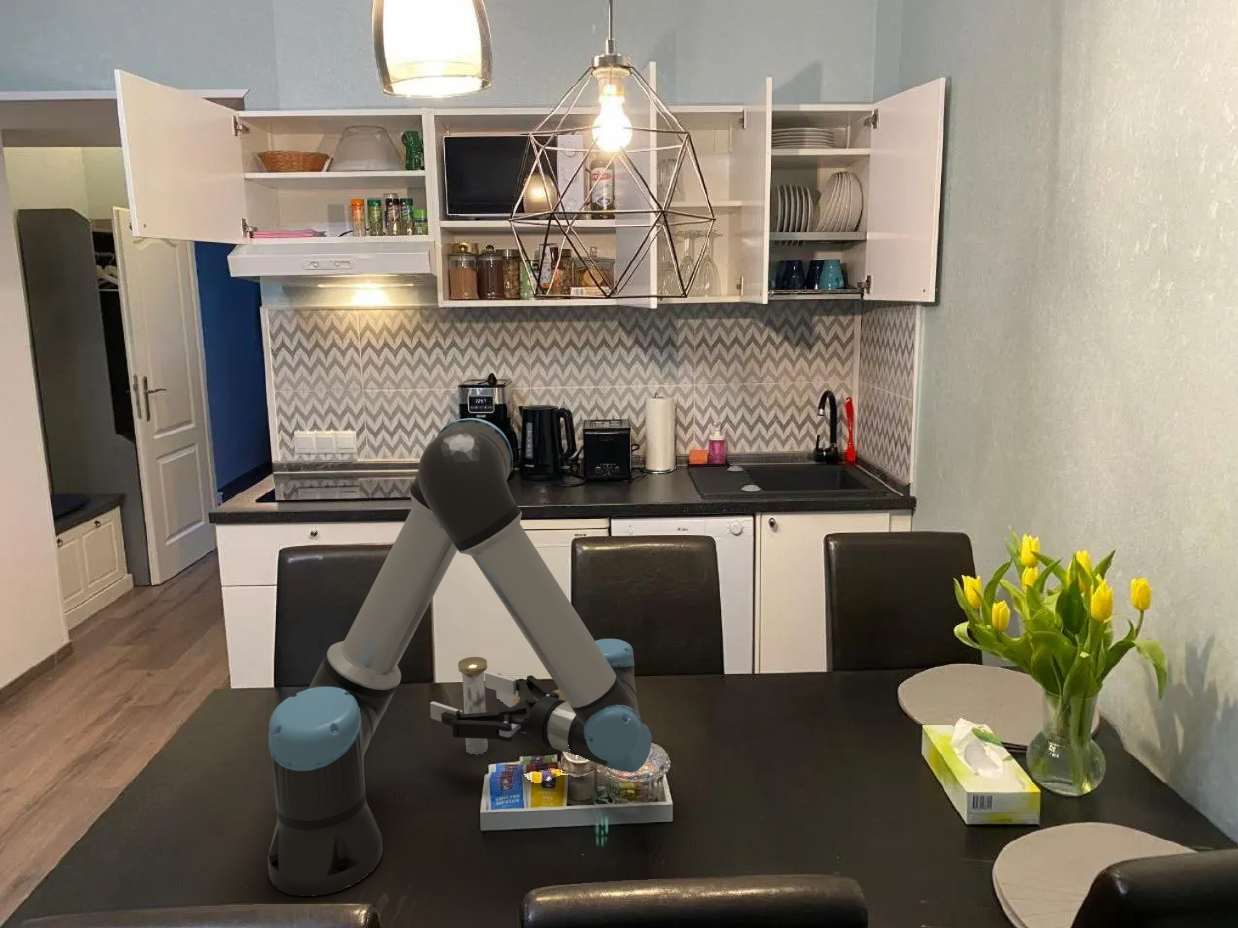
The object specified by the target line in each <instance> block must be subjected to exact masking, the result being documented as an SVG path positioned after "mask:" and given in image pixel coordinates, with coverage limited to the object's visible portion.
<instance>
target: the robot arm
mask: <svg viewBox="0 0 1238 928" xmlns="http://www.w3.org/2000/svg"><path fill="white" fill-rule="evenodd" d="M419 459H420V460H419V463H418V468H417V469H418V470H417V474H416V476H415V477H414V480H413V482H412V484H411V486H410V488H409V490H408V494H409V496H410V499H411V501H412V507H411V509H410V511H409V513H408V516H407V517H406V520H405V521H404V523H403V525H402V527H401V529H400V531H399V533H398V535H397V537H396V538H395V541H394V543H393V545H392V546H391V549H390V551H389V553H388V555H387V557H386V558H385V561H384V562H383V565H382V567H381V568H380V570H379V572H378V574H377V576H376V578H375V581H374V582H373V584H372V586H371V588H370V590H369V593H368V594H367V596H366V597H365V600H364V602H363V604H362V605H361V607H360V609H359V611H358V613H357V616H356V618H355V619H354V621H353V623H352V625H351V627H350V629H349V631H348V633H347V635H346V637H345V639H344V640H342V641H338V642H336V643H333V644H331V645H330V647H329V648H328V649H327V651H326V654H325V656H324V658H323V660H322V661H321V663H320V665H319V667H318V669H317V671H316V673H315V675H314V677H313V679H312V681H311V682H310V685H309V686H308V688H307V689H305V690H301V691H299V692H296V694H295V696H289V697H287V698H286V699H284V700H283V701H281V703H279V704H278V706H276V708H275V709H274V710H273V712H272V714H271V715H270V718H269V723H268V735H267V738H268V740H267V741H268V742H267V745H268V751H269V752H270V753H269V754H270V755H269V756H270V762H271V763H270V765H271V772H272V782H273V790H274V800H275V808H276V819H277V820H276V824H275V827H274V831H273V836H272V840H271V843H270V847H269V851H268V856H267V870H268V878H269V877H270V878H269V881H270V880H271V881H270V882H272V883H273V884H272V883H271V884H272V886H274V885H275V886H276V887H277V888H279V889H280V890H282V891H283V892H282V891H281V892H282V893H284V892H286V893H287V895H291V896H294V895H295V897H302V896H303V895H304V896H312V895H322V896H326V894H327V895H330V894H329V893H332V894H334V893H333V892H335V893H337V892H336V891H339V890H341V889H343V888H345V887H346V886H348V885H352V884H354V883H356V882H357V881H359V880H361V879H362V878H363V877H365V876H366V875H367V874H369V873H370V872H371V871H372V870H373V869H374V868H375V867H376V866H377V864H378V863H379V861H380V858H381V856H382V857H383V855H382V853H383V852H384V848H383V847H384V844H383V837H382V832H381V830H380V827H379V826H378V823H377V822H376V820H375V817H374V815H373V813H372V811H371V808H370V807H369V805H368V802H367V798H366V797H367V796H366V782H365V769H364V757H365V754H366V751H367V749H368V748H369V745H370V743H371V740H372V738H373V736H374V734H375V732H376V730H377V727H378V725H379V723H380V721H381V719H382V718H383V716H384V714H385V712H386V711H387V709H388V705H390V702H391V700H392V698H393V696H394V694H395V692H396V690H397V688H398V686H399V684H400V683H401V679H402V673H401V670H400V668H399V666H398V665H399V663H400V661H401V659H402V658H403V656H404V653H405V651H406V649H407V648H408V646H409V644H410V641H411V640H412V638H413V636H414V633H416V630H417V629H418V627H419V624H420V622H421V621H422V620H423V617H424V615H425V613H426V611H427V609H428V607H429V605H430V603H431V601H432V600H433V597H434V596H435V594H436V592H437V590H438V588H439V586H440V584H441V582H442V581H443V578H444V576H445V575H446V573H447V571H448V569H449V568H450V565H451V563H452V561H453V559H454V557H455V556H456V553H457V551H458V552H459V553H460V554H464V555H468V556H471V557H472V559H473V561H474V562H475V563H476V565H477V566H478V568H479V570H480V571H481V573H482V574H483V576H484V577H485V579H486V580H487V582H488V583H489V585H490V587H491V588H492V590H493V591H494V592H495V594H496V596H497V597H498V599H499V600H500V601H501V603H502V606H504V608H505V609H506V611H507V612H508V613H509V616H510V617H511V618H512V619H513V621H514V623H515V624H516V625H517V627H518V629H519V630H520V632H521V633H522V635H523V637H524V638H525V639H526V641H527V642H528V644H529V645H530V647H531V648H532V650H533V652H534V653H535V654H536V656H537V658H538V660H540V662H541V663H542V665H543V666H544V668H545V670H546V671H547V673H548V674H549V676H550V678H551V679H552V680H553V682H554V683H555V684H556V687H557V688H558V689H560V691H561V692H562V694H563V695H564V697H565V698H566V700H567V702H565V701H563V700H560V699H559V694H558V693H555V692H553V691H554V690H553V691H552V690H550V688H549V687H547V686H546V685H544V684H543V682H541V681H540V680H539V679H537V678H536V677H535V676H534V675H531V674H530V675H527V676H526V679H525V678H518V679H517V678H512V677H511V676H510V677H509V676H505V675H503V674H501V675H498V673H494V672H491V671H487V670H486V672H484V685H485V688H487V689H491V690H494V691H496V690H497V691H500V692H503V693H507V694H510V695H513V696H514V695H516V691H518V697H519V696H520V699H521V701H522V702H518V703H517V704H516V705H515V706H512V707H510V708H509V707H502V708H500V709H499V710H498V711H486V712H484V713H470V714H464V712H463V710H461V709H459V708H455V707H453V706H449V705H446V704H443V703H440V702H436V701H431V702H429V708H430V709H429V710H430V713H429V714H430V719H433V720H434V721H439V722H441V724H444V725H446V726H449V727H451V737H452V738H457V739H459V738H460V739H466V738H479V739H487V740H499V741H503V742H509V743H510V742H511V741H513V735H514V734H515V733H521V732H524V733H526V734H525V735H527V736H528V737H529V739H530V740H531V741H532V742H533V743H536V744H538V745H541V746H544V747H548V748H550V749H552V748H553V749H554V750H557V751H561V752H564V753H566V752H568V753H567V754H569V753H571V754H570V755H573V754H574V755H573V756H575V755H579V756H581V757H583V758H585V759H584V760H586V759H588V760H587V761H589V760H590V761H589V762H592V763H595V764H597V765H598V764H599V765H601V766H603V767H607V768H608V769H610V770H611V769H612V770H617V771H620V772H625V773H626V772H627V773H636V772H637V771H639V770H640V768H642V767H643V766H644V765H645V763H646V762H647V760H648V758H649V756H650V753H651V748H652V742H653V741H652V737H653V736H652V733H651V732H650V728H649V727H648V725H647V724H645V723H642V718H641V717H640V716H641V715H640V712H639V705H638V698H637V691H636V682H635V666H636V664H635V661H634V659H635V658H634V649H633V647H632V645H631V644H630V643H629V642H627V641H624V640H621V639H618V638H617V639H616V638H601V639H597V640H595V639H594V638H593V636H592V635H591V633H590V631H589V630H588V627H586V625H585V624H584V622H583V620H582V618H581V617H580V615H579V614H578V613H577V611H576V609H575V607H574V606H573V605H572V603H571V602H570V600H569V598H568V597H567V595H566V593H565V592H564V590H563V589H562V588H561V586H560V584H559V582H558V581H557V580H556V578H555V577H554V575H553V573H552V572H551V570H550V569H549V567H548V565H547V564H546V562H545V560H544V559H543V557H542V556H541V554H540V553H539V551H538V550H537V548H536V546H535V545H534V543H533V542H532V541H531V539H530V537H529V536H528V534H527V533H526V531H525V529H524V528H523V527H522V525H521V519H522V516H523V515H522V514H523V512H522V511H521V509H520V507H519V506H518V504H517V502H516V501H515V498H514V497H513V495H512V493H511V490H510V488H509V484H508V481H507V480H508V478H509V476H510V474H511V472H512V470H513V469H512V467H513V464H514V462H513V461H514V455H513V450H512V448H511V444H510V442H509V440H508V438H507V436H506V434H504V432H503V431H502V430H501V429H500V428H499V427H497V426H496V425H495V424H493V423H492V422H490V421H487V420H485V419H481V418H474V417H471V418H470V417H467V418H461V419H457V420H455V421H452V422H450V423H448V424H447V425H445V426H444V427H443V428H442V429H441V430H439V432H438V434H436V437H435V438H434V439H433V440H432V441H431V442H430V443H429V444H428V445H427V446H426V448H425V449H424V451H423V453H422V454H421V457H420V458H419ZM502 675H503V676H502ZM534 696H535V697H536V698H537V699H538V701H536V699H535V698H534ZM505 715H506V717H507V721H505ZM568 745H569V746H568ZM569 749H570V750H569ZM583 758H582V759H583ZM380 862H381V861H380ZM379 864H380V863H379ZM377 867H378V866H377ZM377 867H376V868H377ZM275 886H274V887H275ZM276 887H275V888H276ZM277 888H276V889H277ZM280 890H279V891H280ZM341 891H342V890H341ZM339 892H340V891H339ZM286 893H285V894H286ZM296 895H297V896H296ZM298 895H299V896H298Z"/></svg>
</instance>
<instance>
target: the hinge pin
mask: <svg viewBox="0 0 1238 928" xmlns="http://www.w3.org/2000/svg"><path fill="white" fill-rule="evenodd" d="M457 664H458V665H457V667H458V668H457V669H458V671H459V673H460V674H461V675H462V677H461V678H462V689H463V690H462V691H463V692H462V693H463V694H462V695H463V709H464V712H463V714H470V713H484V712H487V710H486V709H487V708H486V687H485V671H487V670H488V660H487V659H486V658H484V657H481V656H469V657H465V658H462V659H461V660H459V661H458V663H457ZM465 746H466V747H465V748H466V749H465V750H466V751H465V752H466V753H467V752H468V753H470V754H469V755H471V754H475V755H474V756H480V755H482V754H485V753H487V751H488V750H487V749H488V739H479V738H465ZM484 752H485V753H484ZM468 753H467V754H468ZM479 754H480V755H479Z"/></svg>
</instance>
